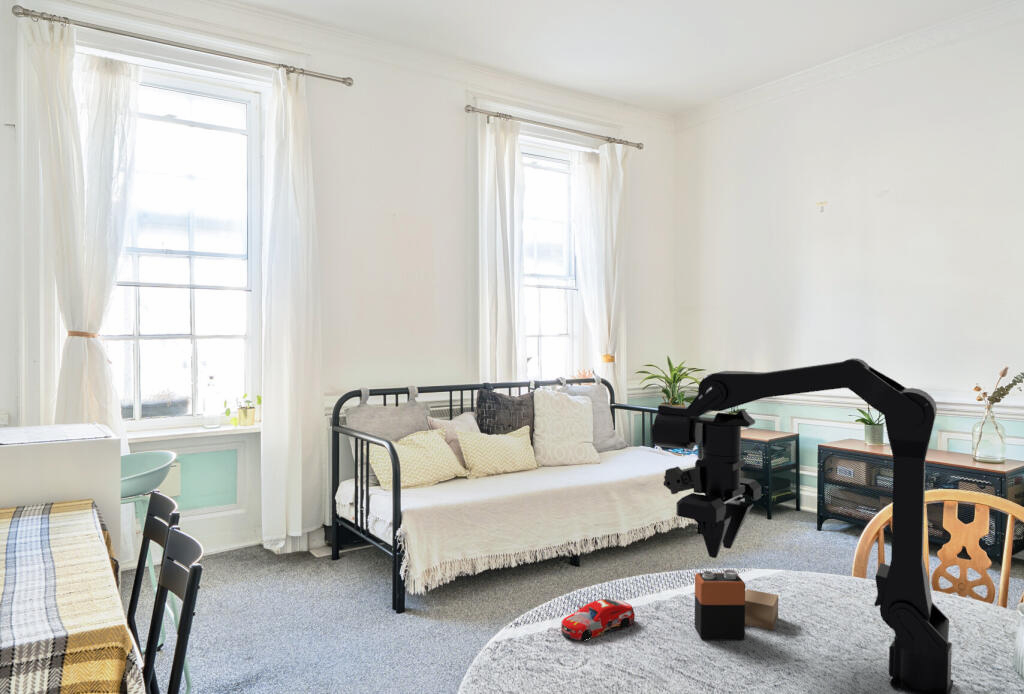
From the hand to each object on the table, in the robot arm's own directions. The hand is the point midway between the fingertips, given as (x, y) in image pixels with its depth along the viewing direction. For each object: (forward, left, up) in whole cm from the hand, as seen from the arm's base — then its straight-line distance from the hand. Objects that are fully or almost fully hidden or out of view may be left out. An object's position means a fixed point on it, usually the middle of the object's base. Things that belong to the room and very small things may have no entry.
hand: (720, 552), depth 106 cm
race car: (+16, +10, -14) cm, 23 cm away
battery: (0, 0, -13) cm, 13 cm away
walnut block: (-3, -9, -13) cm, 16 cm away
